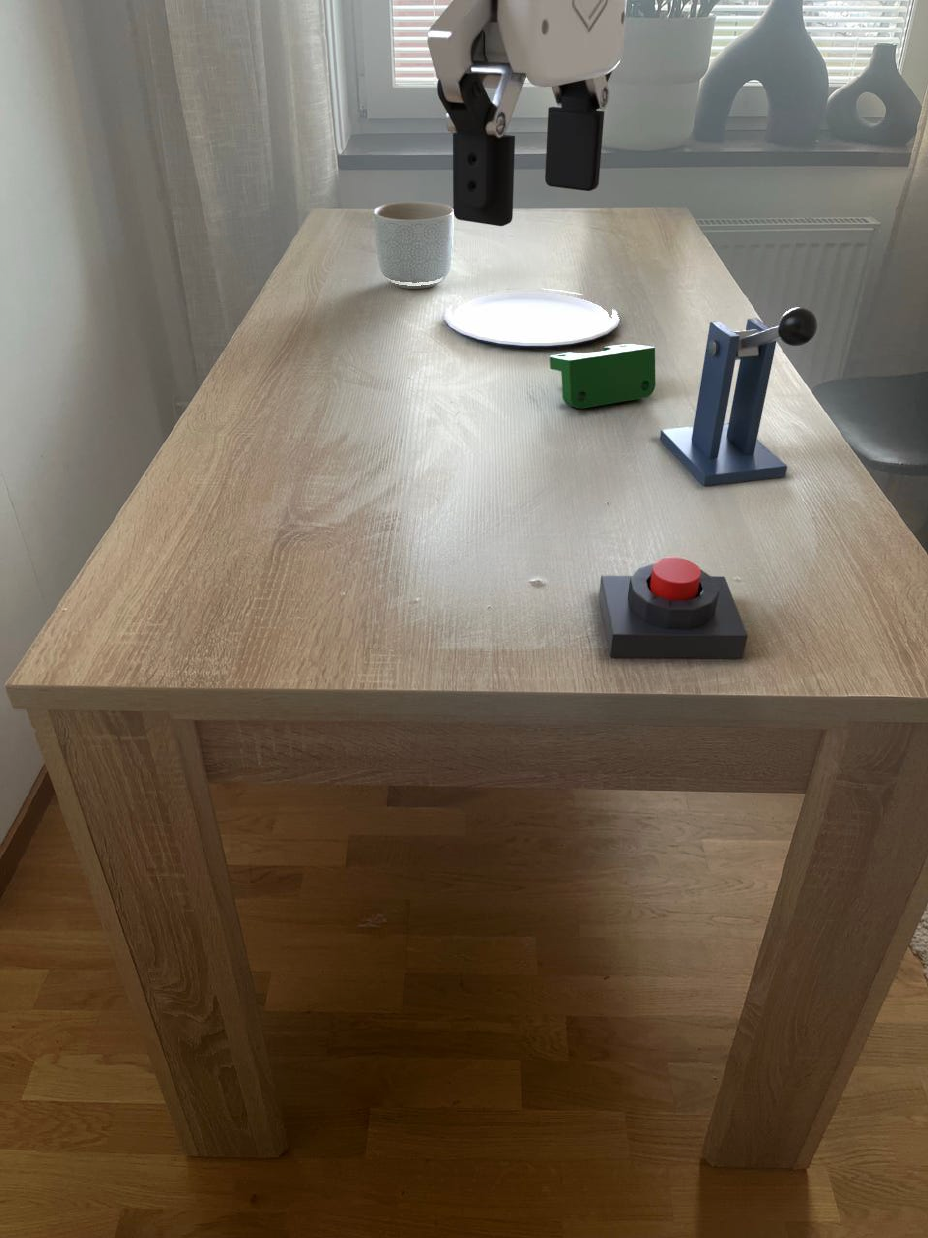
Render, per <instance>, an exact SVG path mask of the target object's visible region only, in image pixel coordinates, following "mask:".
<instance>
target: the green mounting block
mask: <svg viewBox="0 0 928 1238" xmlns="http://www.w3.org/2000/svg"><path fill="white" fill-rule="evenodd" d="M549 367H550V370H554V371H558V372H561V389H562V390H561V391H562V400H563V402H564V404H565V405H567V406H569V407H572V408H575V409H579V410H580V409H581V410H582V409H587V408H593V407H600V406H605V405H611V404H616V403H617V404H618V403H621V402H628V401H634V400H639V399H646V398H648V397H650V396H651V395H653V393H654V391H655V389H656V347H655V346H649V345H641V344H635V343H634V344H633V343H627V344H616V345H609V346H604V347H603V351H596V352H583V353H581V352H580V353H579V352H571V351H570V352H563V353H557V354H551V355H550V356H549Z"/></svg>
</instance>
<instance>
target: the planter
mask: <svg viewBox="0 0 928 1238" xmlns="http://www.w3.org/2000/svg"><path fill="white" fill-rule="evenodd" d="M372 222H373V223H372V224H373V233H374V240H375V241H374V243H375V248H376V255H377V261H378V266H379V270H380V272H381V274H382V276H383V275H384V276H385V277H387V278H389V279H391V280H395V281H400V282H412V283H417V282H418V283H419V282H429V281H435V280H437V279H440V278H442V277H444V276H446V275H447V276H448V274H449V272H450V269H451V265H452V256H453V247H454V246H453V243H454V229H455V228H454V227H455V216H454V212H453V208H452V207H451V206H449V205H446V204H442V203H437V202H432V201H431V202H430V201H399V202H392V203H387V204H383V205H380V206H377V207H375V208H374V209H373V210H372ZM384 276H383V277H384ZM447 276H446V277H447ZM385 277H384V278H385ZM441 282H442V281H440V282H438V283H434V284H430V285H421V286H407V285H399V284H395V283H391V282H389V283H390V284H391V285H393V286H395V287H398V288H400V289H406V290H422V289H423V290H424V289H428V288H429V289H430V288H433V287H435V286H437V285H438V284H440V283H441Z"/></svg>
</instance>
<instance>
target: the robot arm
mask: <svg viewBox="0 0 928 1238" xmlns="http://www.w3.org/2000/svg"><path fill="white" fill-rule="evenodd" d="M627 1H628V0H450V3H449V5H448V6H447V7H446V9H444V10H443V12H442V13H441V14H440V15H439V17H438V18H437V19H436V20H435V22H434V23H433V24H432V25H431V26H430V28H429V30H428V34H427V46H428V50H429V53H430V57H431V61H432V64H433V68H434V72H435V76H436V79H437V84H436V92H437V96H438V99H439V100H440V102H441V104H442V106H443V107H444V110H445V111H446V114H445V126H446V129H447V132H449V134H452V196H453V197H452V198H453V199H452V203H453V204H452V207H453V208H452V209H453V212H454V218H456V219H457V220H458V221H463V222H464V221H465V222H470V223H475V224H477V223H478V224H484V225H488V226H490V225H491V226H496V227H504V226H507V225H509V224H511V222H512V221H513V218H514V217H513V216H514V185H515V183H514V182H515V181H514V180H515V155H516V154H515V153H516V152H515V149H516V135H510V134H506V133H507V131H508V127H509V124H510V122H511V119H512V116H513V114H514V111H515V108H516V105H517V102H518V101H519V99H520V95H521V92H522V90H523V86H524V84H525V81H526V80H527V81H528V82H529V83H530V84H531V85H532V86H534V87H537V88H551V90H552V93H553V97H554V99H555V103H556V105H557V106H550V107H548V108H547V109H548V110H547V111H548V113H547V131H546V152H545V153H546V154H545V171H544V173H545V174H544V177H545V178H544V179H545V180H544V181H545V183H546V185H547V186H548V187H554V188H560V189H561V188H562V189H569V190H570V189H571V190H578V191H585V192H591V191H594V190H596V189H597V188H598V186H599V183H600V175H601V174H600V172H601V161H602V148H603V134H604V123H605V111H604V110H605V109H607V107H608V104H609V100H610V88H609V84H608V82H609V81H610V78H611V75H612V73H613V71H614V69H616V68H617V66H618V65H619V64H620V62H621V60H622V58H623V53H624V46H625V34H626V33H625V31H626V15H627ZM486 89H494V90H495V92H494V95H493V97H492V100H491V99H490V97H489V94H488V92H487V90H486Z"/></svg>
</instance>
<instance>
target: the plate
mask: <svg viewBox="0 0 928 1238" xmlns="http://www.w3.org/2000/svg"><path fill="white" fill-rule="evenodd" d="M543 289H544V290H549V291H554V292H558V293H559V292H560V293H562V292H563V293H569V294H573V295H574V294H576V295H577V294H578V295H582V293H578V292H572V291H566V290H560V289H549V288H543ZM452 303H453V304H454V302H452ZM452 303H451V304H452ZM451 304H450V305H451ZM453 304H452V305H453ZM450 305H449V306H450ZM452 305H451V306H450V307H449V306H448V307H449V308H448V307H447V308H446V309H447V310H446V309H445V310H444V313H445V315H444V316H443V321H444V322H445V323H446V324H447V326H448V327H449V328H450V329H451V330H453V331H454V332H456V333H457V334H459V335H461V336H463V337H466V338H469V339H472V340H474V341H477V342H482V343H487V344H491V345H496V346H502V347H514V348H523V349H548V348H549V349H550V348H560V347H571V346H576V345H580V344H585V343H590V342H594V341H597V340H598V339H601V338H604V337H606V336H608V335H609V334H611V333H612V332H613V331H615V330H616V329H617V328H618V326H619V323H620V320H621V319H619V318H620V316H619V314H618V311H617V310H616V309H614V308H613V309H614V310H613V309H612V315H611V317H612V318H610V317H609V314H608V312H607V311H606V310H604V309H603V308H602V307H601V306H599V305H597V304H594V303H592V302H590V301H587V300H584V299H580V298H577V297H573V296H567V295H561V294H555V293H542V292H512V293H499V294H494V295H488V296H482V297H479V298H476V299H473V300H470V301H467V302H466V303H464V304H462V305H460V306H459V307H458V308H457V309H456V310H455V311H454V316H453V314H452V312H451V309H452V307H453V306H452ZM617 314H618V315H617ZM618 316H619V317H618Z"/></svg>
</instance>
